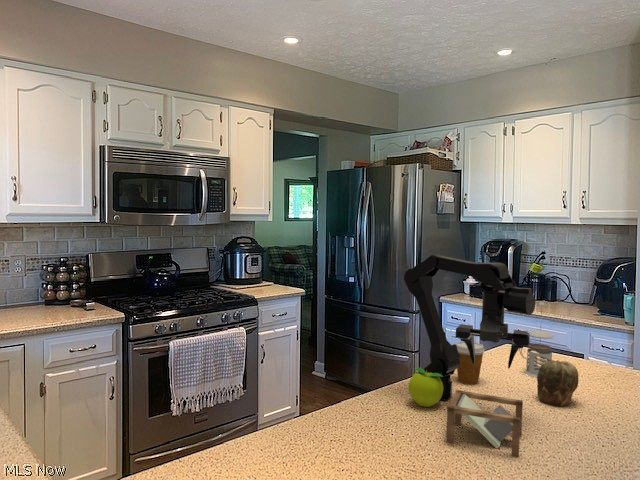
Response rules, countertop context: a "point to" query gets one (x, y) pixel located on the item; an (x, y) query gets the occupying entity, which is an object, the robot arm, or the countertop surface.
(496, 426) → the gray cube
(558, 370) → the shell
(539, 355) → the french press
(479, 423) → the trapdoor
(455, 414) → the frame
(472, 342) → the robot arm
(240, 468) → the countertop surface
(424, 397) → the fruit
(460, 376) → the disposable coffee cup
